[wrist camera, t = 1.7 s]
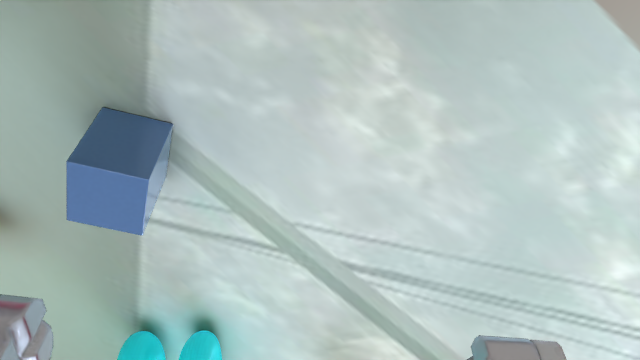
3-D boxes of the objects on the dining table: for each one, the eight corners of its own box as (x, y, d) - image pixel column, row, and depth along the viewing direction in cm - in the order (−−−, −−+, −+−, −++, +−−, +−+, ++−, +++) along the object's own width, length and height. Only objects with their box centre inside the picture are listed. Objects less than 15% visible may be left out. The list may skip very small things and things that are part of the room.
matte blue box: (102, 106, 47) (65, 161, 40) (173, 123, 48) (148, 179, 41) (100, 162, 50) (66, 220, 44) (166, 176, 51) (142, 236, 45)
